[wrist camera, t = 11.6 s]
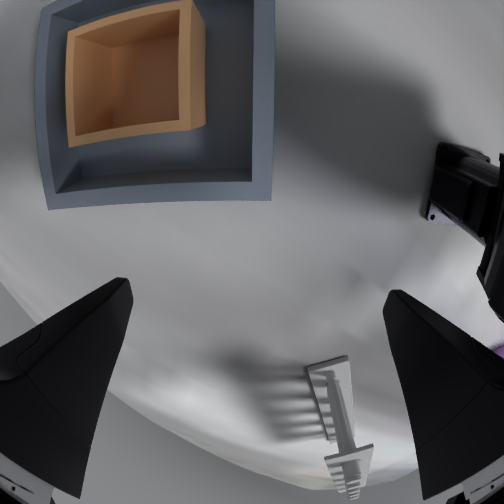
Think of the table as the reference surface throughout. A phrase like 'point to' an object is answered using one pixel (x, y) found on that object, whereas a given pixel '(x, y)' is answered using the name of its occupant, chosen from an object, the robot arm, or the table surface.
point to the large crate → (167, 143)
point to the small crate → (137, 74)
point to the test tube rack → (340, 425)
